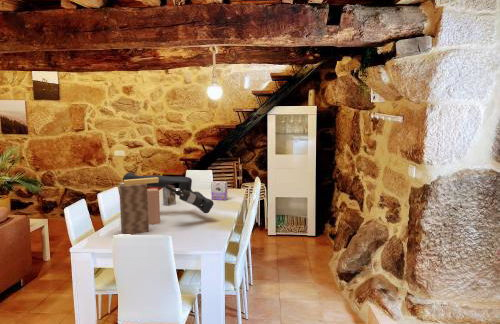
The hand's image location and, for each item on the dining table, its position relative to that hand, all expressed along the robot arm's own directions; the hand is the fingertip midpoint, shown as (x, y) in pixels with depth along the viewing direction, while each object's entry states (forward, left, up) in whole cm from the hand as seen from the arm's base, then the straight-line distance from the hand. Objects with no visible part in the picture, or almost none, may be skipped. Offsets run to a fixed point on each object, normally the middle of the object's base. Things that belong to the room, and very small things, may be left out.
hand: (167, 187), depth 262 cm
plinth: (-16, -16, -28) cm, 36 cm away
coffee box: (-32, +57, -28) cm, 71 cm away
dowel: (-12, -12, +4) cm, 18 cm away
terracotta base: (-16, +5, -28) cm, 33 cm away
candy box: (+2, +87, -28) cm, 91 cm away
